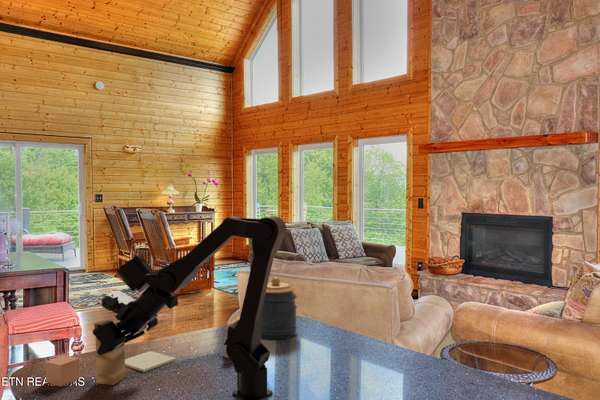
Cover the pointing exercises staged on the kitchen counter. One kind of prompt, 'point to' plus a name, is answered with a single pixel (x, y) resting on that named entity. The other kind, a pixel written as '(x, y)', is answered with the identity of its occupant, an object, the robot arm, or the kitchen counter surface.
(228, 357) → the rook chess piece
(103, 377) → the brown block
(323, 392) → the kitchen counter surface
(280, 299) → the canister
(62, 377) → the terracotta block
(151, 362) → the pad
